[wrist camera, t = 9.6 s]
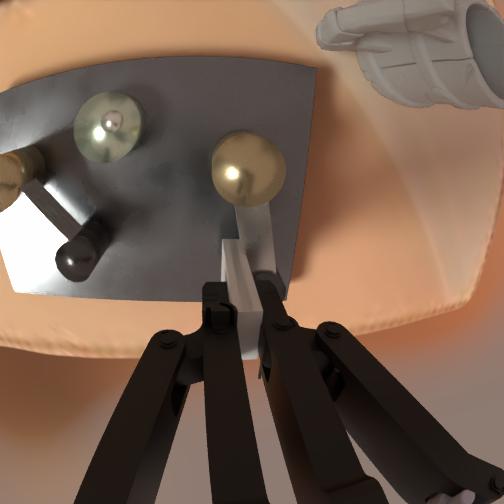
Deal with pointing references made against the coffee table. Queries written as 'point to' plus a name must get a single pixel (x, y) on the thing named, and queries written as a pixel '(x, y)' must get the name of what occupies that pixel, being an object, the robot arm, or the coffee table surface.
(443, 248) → the coffee table surface
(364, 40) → the mug
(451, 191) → the coffee table surface
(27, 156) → the knob left
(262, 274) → the knob right
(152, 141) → the control panel
